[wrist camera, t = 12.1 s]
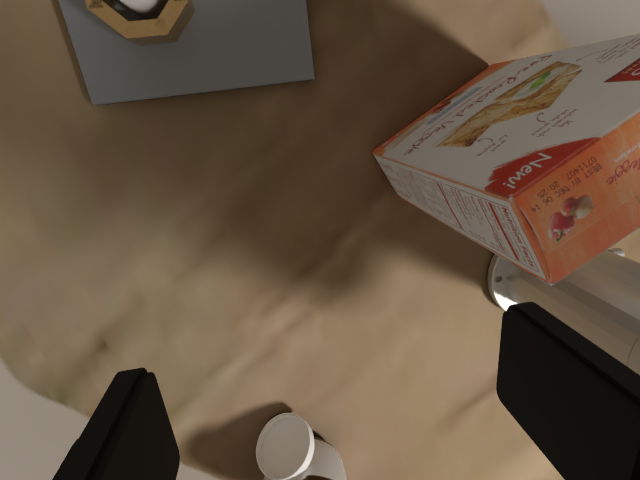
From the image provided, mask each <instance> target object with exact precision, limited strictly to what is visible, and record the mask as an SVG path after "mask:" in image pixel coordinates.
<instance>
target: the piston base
mask: <svg viewBox="0 0 640 480" xmlns="http://www.w3.org/2000/svg"><path fill="white" fill-rule="evenodd" d="M58 1H59V4H60V7H61V10H62V13H63V16H64V19H65V22H66V25H67V28H68V31H69V35H70V38H71V41H72V44H73V47H74V50H75V53H76V56H77V59H78V62H79V65H80V68H81V71H82V75H83V78H84V81H85V84H86V87H87V90H88V93H89V96H90V99H91V102H92V105H104V104H112V103H121V102H129V101H138V100H146V99H154V98H163V97H171V96H180V95H188V94H197V93H205V92H213V91H222V90H230V89H239V88H247V87H256V86H264V85H273V84H281V83H289V82H298V81H306V80H313V79H315V76H314V67H313V58H312V49H311V40H310V32H309V23H308V14H307V5H306V0H193V3H194V8H195V13H194V14H193V16H192V17H191V19H190V21H189V22H188V24H187V25H186V27H185V29H184V30H183V32H182V33H181V35H180V37H179V38H178V40H177V41H176V42H174V43H164V44H154V45H143V46H139V45H137V44H135V43H134V42H132V41H130V40H128V39H127V38H125V37H124V36H123V35H121V34H120V33H119V32H117V31H116V30H115V29H114V28H112V27H111V26H110V25H108V24H107V23H106V22H104V21H103V20H102V19H100V18H99V17H98V16H96V15H95V14H94V13H92V12H91V11H90V10H89V9H87V5H86V2H85V0H58ZM114 2H115V6H116V9H117V12H118V13H119V14H121V15H122V16H123V17H124V18H126V19H127V20H128V21H139V20H150V19H158V17H159V15H160V14H161V12H162V10H163V9H164V7H165V5H166V4H167V2H168V0H114Z"/></svg>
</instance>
